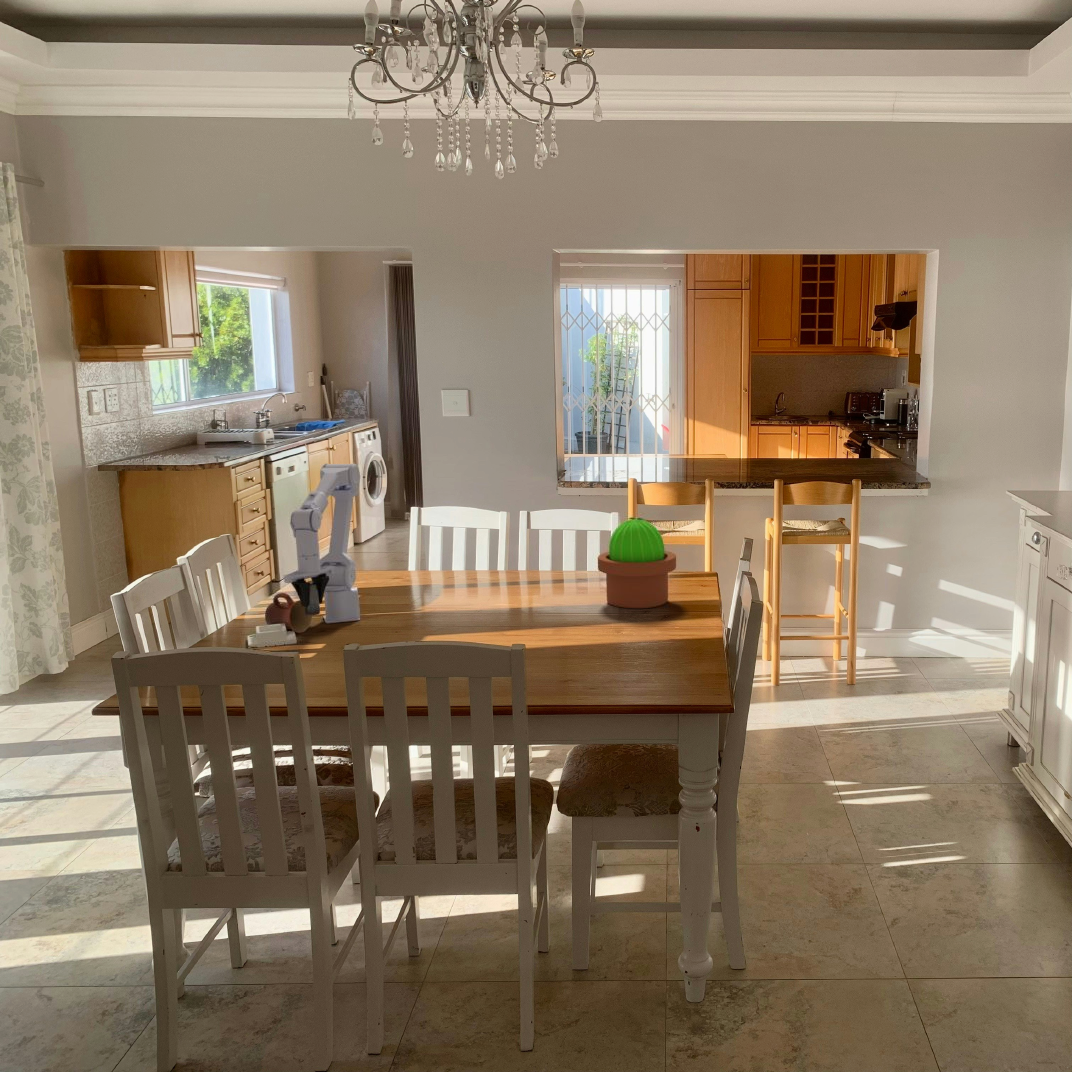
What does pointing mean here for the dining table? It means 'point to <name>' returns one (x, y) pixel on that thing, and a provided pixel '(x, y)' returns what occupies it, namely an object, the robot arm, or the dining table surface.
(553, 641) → the dining table surface
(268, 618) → the mug
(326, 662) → the dining table surface
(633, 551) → the potted cactus
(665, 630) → the dining table surface
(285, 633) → the charger
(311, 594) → the cell
